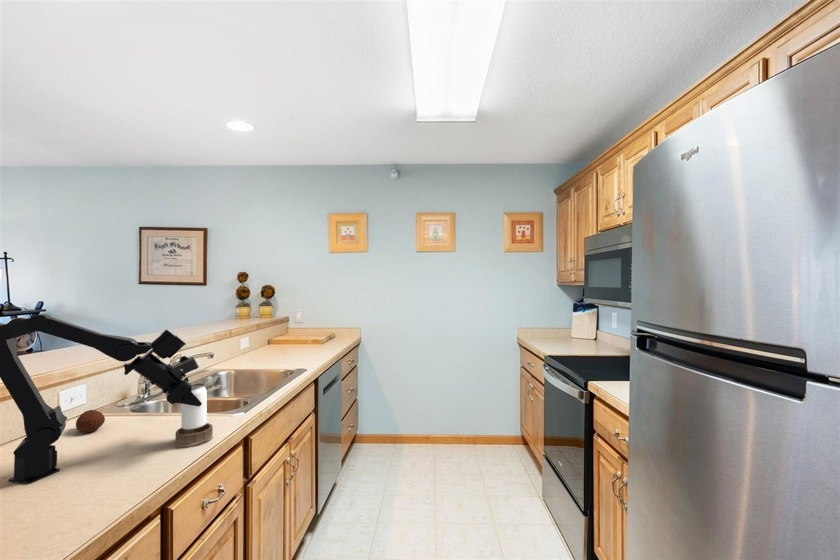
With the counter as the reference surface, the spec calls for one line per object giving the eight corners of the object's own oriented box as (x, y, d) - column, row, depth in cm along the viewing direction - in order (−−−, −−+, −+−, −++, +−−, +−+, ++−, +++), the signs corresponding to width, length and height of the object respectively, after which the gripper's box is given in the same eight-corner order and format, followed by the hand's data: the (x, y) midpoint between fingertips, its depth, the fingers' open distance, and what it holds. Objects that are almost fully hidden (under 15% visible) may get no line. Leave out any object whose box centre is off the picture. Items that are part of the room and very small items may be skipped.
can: (208, 426, 108) (208, 386, 108) (183, 432, 103) (183, 390, 104) (204, 420, 112) (204, 382, 113) (179, 426, 108) (179, 386, 108)
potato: (105, 423, 121) (105, 404, 121) (104, 432, 114) (105, 412, 114) (76, 429, 116) (77, 409, 117) (74, 438, 109) (74, 417, 110)
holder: (195, 448, 102) (195, 436, 102) (166, 446, 104) (167, 434, 104) (219, 435, 112) (220, 424, 112) (193, 432, 114) (193, 421, 114)
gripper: (183, 354, 99) (226, 387, 105) (177, 345, 113) (216, 375, 120) (146, 387, 94) (194, 420, 100) (145, 373, 108) (187, 403, 115)
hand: (199, 402), depth 109 cm, fingers closed on can, 6 cm apart
